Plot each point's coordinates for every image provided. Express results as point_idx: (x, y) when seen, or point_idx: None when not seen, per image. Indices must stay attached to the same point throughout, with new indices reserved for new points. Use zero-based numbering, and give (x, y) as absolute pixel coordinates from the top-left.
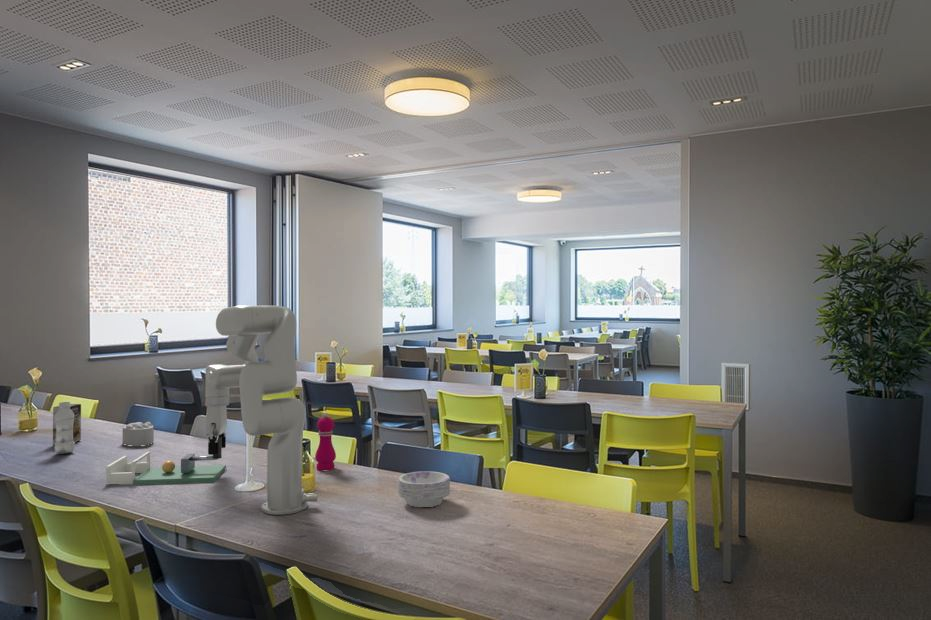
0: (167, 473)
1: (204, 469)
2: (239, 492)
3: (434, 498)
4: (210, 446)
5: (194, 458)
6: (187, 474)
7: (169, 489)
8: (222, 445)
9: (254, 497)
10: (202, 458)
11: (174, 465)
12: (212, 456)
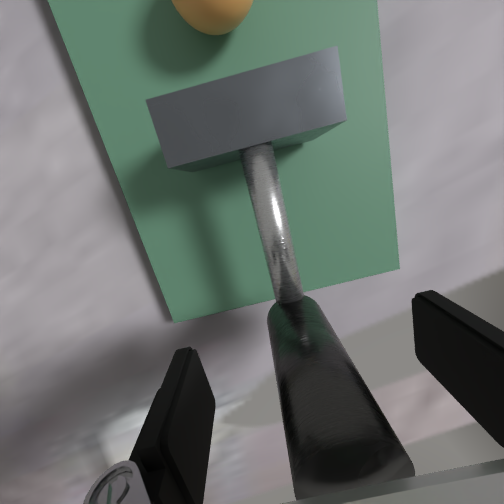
0: None
1: (307, 204)
2: (84, 447)
3: None
4: (139, 438)
5: (247, 178)
6: None
7: (21, 179)
8: (429, 354)
9: (53, 499)
10: (260, 237)
11: (218, 22)
12: (284, 302)
